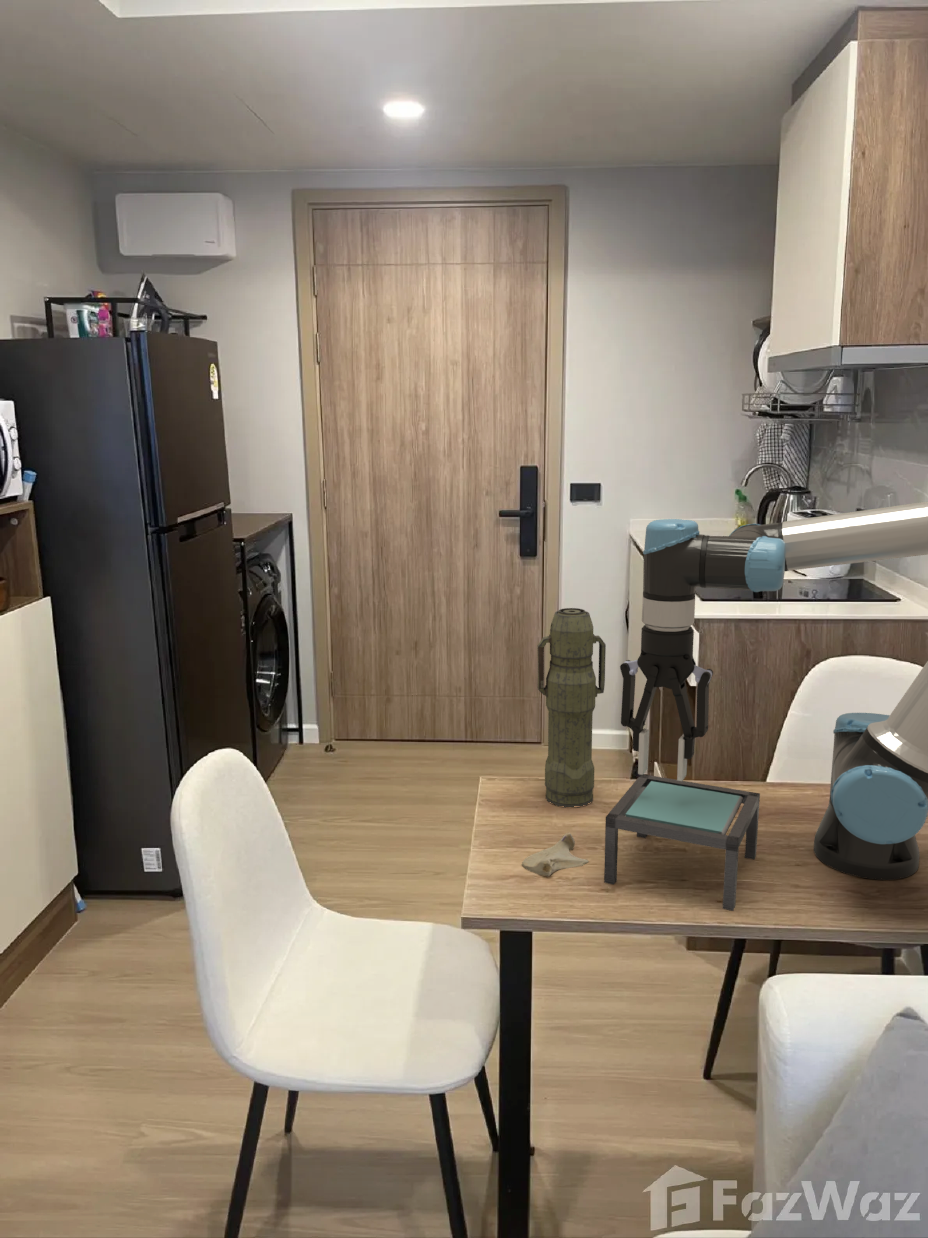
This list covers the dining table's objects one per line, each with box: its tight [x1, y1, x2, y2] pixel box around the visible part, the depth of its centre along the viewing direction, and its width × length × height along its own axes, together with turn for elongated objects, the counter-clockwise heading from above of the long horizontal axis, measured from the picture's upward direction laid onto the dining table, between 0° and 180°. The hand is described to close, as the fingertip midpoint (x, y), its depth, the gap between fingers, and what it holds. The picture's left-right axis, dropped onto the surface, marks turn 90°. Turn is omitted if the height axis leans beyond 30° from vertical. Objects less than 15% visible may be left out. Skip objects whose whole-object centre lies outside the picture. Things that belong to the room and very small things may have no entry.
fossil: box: [521, 832, 590, 877], centre depth 144 cm, size 7×11×3 cm, turn 127°
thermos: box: [537, 607, 607, 808], centre depth 164 cm, size 9×12×35 cm
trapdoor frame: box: [603, 773, 761, 912], centre depth 140 cm, size 19×19×10 cm
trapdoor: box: [625, 781, 743, 835], centre depth 139 cm, size 14×14×1 cm
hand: (662, 774), depth 140 cm, fingers open, 5 cm apart
